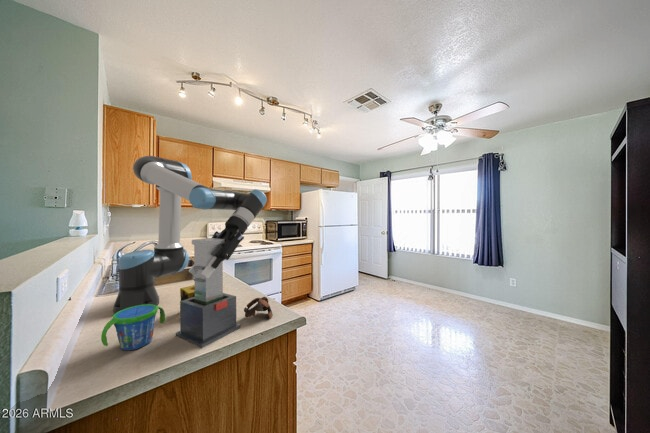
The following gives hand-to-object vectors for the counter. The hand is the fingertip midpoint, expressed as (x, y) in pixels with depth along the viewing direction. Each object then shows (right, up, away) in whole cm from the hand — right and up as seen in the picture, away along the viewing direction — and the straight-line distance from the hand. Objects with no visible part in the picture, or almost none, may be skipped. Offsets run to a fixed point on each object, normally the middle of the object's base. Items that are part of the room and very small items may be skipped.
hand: (198, 274), depth 74 cm
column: (+2, -13, +3) cm, 13 cm away
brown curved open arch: (+16, -20, +15) cm, 29 cm away
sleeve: (+2, -20, +3) cm, 20 cm away
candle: (-10, -20, +19) cm, 30 cm away
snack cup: (-16, -20, -4) cm, 26 cm away
